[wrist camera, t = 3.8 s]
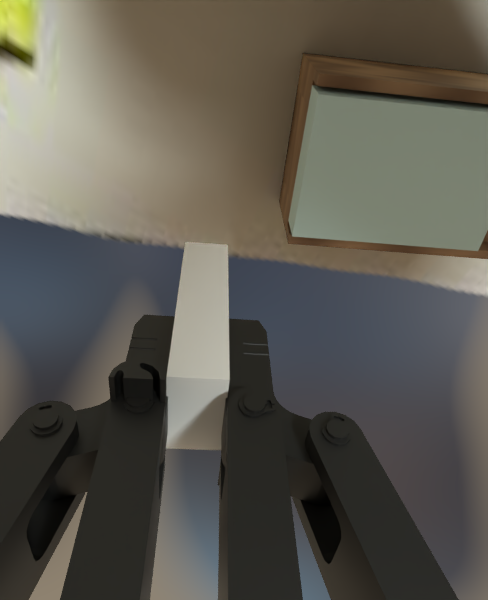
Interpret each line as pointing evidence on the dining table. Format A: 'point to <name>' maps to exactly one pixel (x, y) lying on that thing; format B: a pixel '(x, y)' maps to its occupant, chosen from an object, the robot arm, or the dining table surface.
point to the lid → (392, 170)
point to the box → (382, 81)
